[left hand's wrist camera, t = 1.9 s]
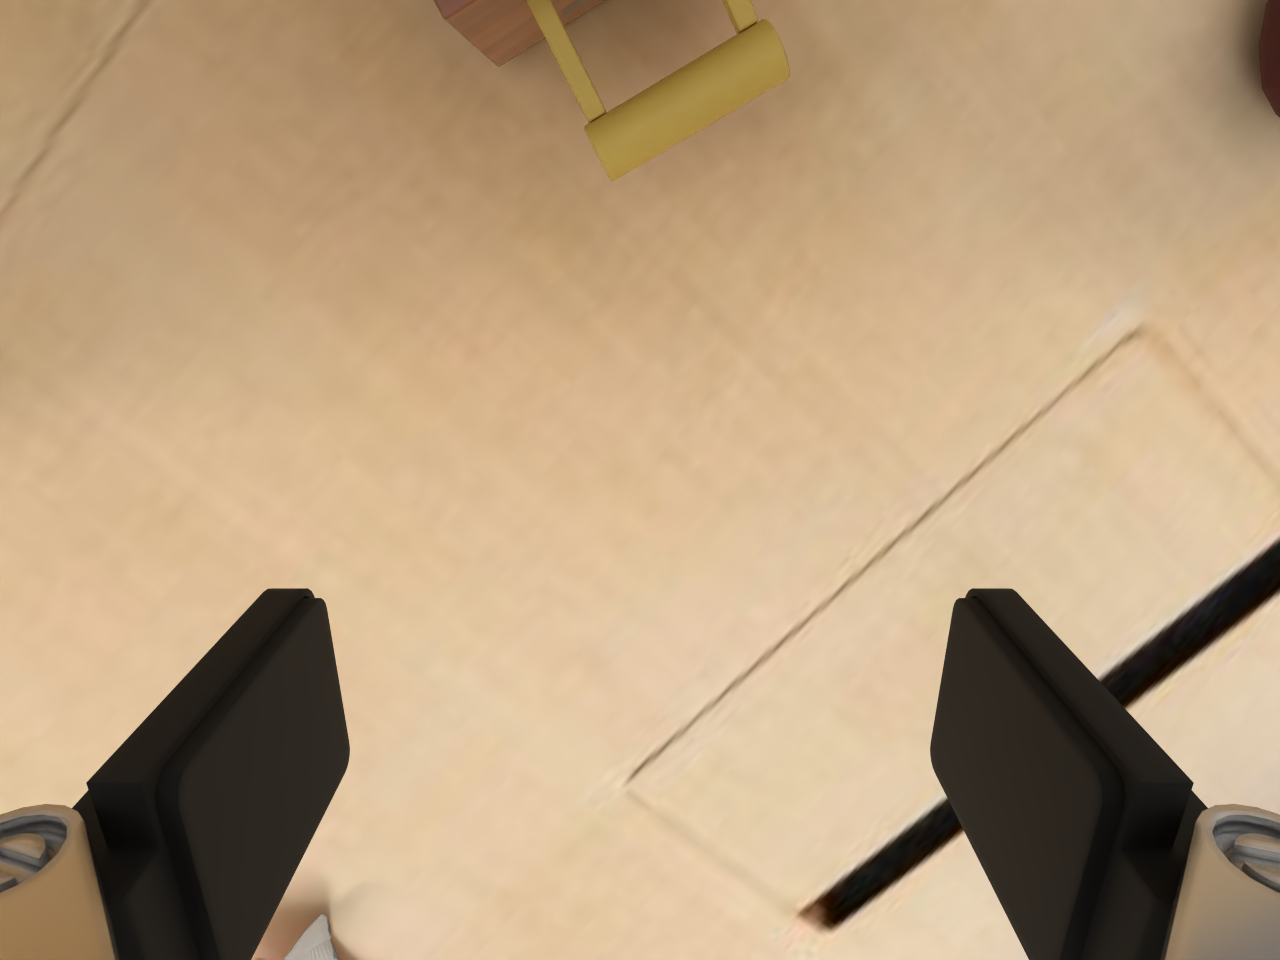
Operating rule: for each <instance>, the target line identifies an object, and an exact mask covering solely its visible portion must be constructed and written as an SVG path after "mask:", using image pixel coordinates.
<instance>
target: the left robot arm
mask: <svg viewBox="0 0 1280 960" xmlns="http://www.w3.org/2000/svg"><path fill="white" fill-rule="evenodd" d="M349 754H350V746H349V739H348V733H347V727H346V721H345V715H344V709H343V703H342V697H341V691H340V685H339V679H338V673H337V667H336V661H335V655H334V649H333V643H332V637H331V631H330V625H329V618H328V612H327V607H326V604H325V602H324V600H323V599H321V598H315V597H314V595H313V593H312V591H311V590H309V589H267V590H266V591H264V592H263V593H262V594H261V595H260V596H259V597H258V599H257V600H256V601H255V602H254V603H253V604H252V605H251V606H250V607H249V608H248V609H247V610H246V611H245V613H244V614H243V615H242V616H241V617H240V618H239V619H238V620H237V621H236V622H235V623H234V624H233V625H232V627H231V628H230V629H229V630H228V631H227V632H226V633H225V634H224V635H223V636H222V637H221V638H220V639H219V641H218V642H217V643H216V644H215V645H214V646H213V647H212V648H211V649H210V650H209V651H208V652H207V654H206V655H205V656H204V657H203V658H202V659H201V660H200V661H199V662H198V663H197V664H196V665H195V666H194V668H193V669H192V670H191V671H190V672H189V673H188V674H187V675H186V676H185V677H184V678H183V679H182V680H181V682H180V683H179V684H178V685H177V686H176V687H175V688H174V689H173V690H172V691H171V692H170V693H169V694H168V696H167V697H166V698H165V699H164V700H163V701H162V702H161V703H160V704H159V705H158V706H157V707H156V708H155V710H154V711H153V712H152V713H151V714H150V715H149V716H148V717H147V718H146V719H145V720H144V721H143V722H142V724H141V725H140V726H139V727H138V728H137V729H136V730H135V731H134V732H133V733H132V734H131V735H130V736H129V738H128V739H127V740H126V741H125V742H124V743H123V744H122V745H121V746H120V747H119V748H118V749H117V750H116V752H115V753H114V754H113V755H112V756H111V757H110V758H109V759H108V760H107V761H106V762H105V763H104V764H103V766H102V767H101V768H100V769H99V770H98V771H97V772H96V773H95V774H94V775H93V776H92V777H91V778H90V780H89V781H88V782H87V786H88V789H89V790H88V791H87V792H86V794H85V795H84V796H83V797H82V798H81V799H80V800H79V801H78V802H77V803H76V805H75V806H74V807H73V808H69V807H67V806H65V805H51V804H43V805H37V806H30V807H23V808H20V809H17V810H14V811H11V812H7V813H4V814H1V815H0V960H251V959H252V957H253V955H254V953H255V951H256V949H257V947H258V945H259V943H260V941H261V939H262V937H263V935H264V933H265V931H266V929H267V927H268V925H269V923H270V921H271V919H272V917H273V915H274V913H275V911H276V909H277V907H278V905H279V903H280V901H281V899H282V897H283V895H284V893H285V891H286V889H287V887H288V885H289V883H290V881H291V879H292V877H293V875H294V873H295V871H296V869H297V867H298V865H299V863H300V861H301V859H302V857H303V855H304V853H305V851H306V849H307V847H308V845H309V843H310V841H311V839H312V837H313V835H314V833H315V831H316V829H317V827H318V825H319V823H320V821H321V819H322V817H323V815H324V813H325V811H326V809H327V807H328V805H329V804H330V802H331V800H332V798H333V796H334V794H335V792H336V790H337V788H338V786H339V784H340V782H341V780H342V778H343V776H344V774H345V771H346V769H347V766H348V762H349ZM930 754H931V762H932V766H933V769H934V771H935V774H936V776H937V778H938V780H939V782H940V784H941V786H942V788H943V790H944V792H945V794H946V796H947V798H948V800H949V802H950V804H951V805H952V807H953V809H954V811H955V813H956V815H957V817H958V819H959V821H960V823H961V825H962V827H963V829H964V831H965V833H966V835H967V837H968V839H969V841H970V843H971V845H972V847H973V849H974V851H975V853H976V855H977V857H978V859H979V861H980V863H981V865H982V867H983V869H984V871H985V873H986V875H987V877H988V879H989V881H990V883H991V885H992V887H993V889H994V891H995V893H996V895H997V897H998V899H999V901H1000V903H1001V905H1002V907H1003V909H1004V911H1005V913H1006V915H1007V917H1008V919H1009V921H1010V923H1011V925H1012V927H1013V929H1014V931H1015V933H1016V935H1017V937H1018V939H1019V941H1020V943H1021V945H1022V947H1023V949H1024V951H1025V953H1026V955H1027V957H1028V959H1029V960H1280V815H1279V814H1276V813H1273V812H1269V811H1266V810H1263V809H1260V808H1257V807H1250V806H1243V805H1237V804H1229V805H1215V806H1213V807H1211V808H1207V807H1206V806H1205V805H1204V803H1203V802H1202V801H1201V800H1200V799H1199V798H1198V797H1197V796H1196V795H1195V794H1194V792H1193V791H1192V790H1191V789H1192V786H1193V782H1192V781H1191V780H1190V778H1189V777H1188V776H1187V775H1186V774H1185V773H1184V772H1183V771H1182V770H1181V769H1180V768H1179V767H1178V766H1177V764H1176V763H1175V762H1174V761H1173V760H1172V759H1171V758H1170V757H1169V756H1168V755H1167V754H1166V753H1165V752H1164V750H1163V749H1162V748H1161V747H1160V746H1159V745H1158V744H1157V743H1156V742H1155V741H1154V740H1153V739H1152V738H1151V736H1150V735H1149V734H1148V733H1147V732H1146V731H1145V730H1144V729H1143V728H1142V727H1141V726H1140V725H1139V724H1138V722H1137V721H1136V720H1135V719H1134V718H1133V717H1132V716H1131V715H1130V714H1129V713H1128V712H1127V711H1126V710H1125V708H1124V707H1123V706H1122V705H1121V704H1120V703H1119V702H1118V701H1117V700H1116V699H1115V698H1114V697H1113V696H1112V694H1111V693H1110V692H1109V691H1108V690H1107V689H1106V688H1105V687H1104V686H1103V685H1102V684H1101V683H1100V682H1099V680H1098V679H1097V678H1096V677H1095V676H1094V675H1093V674H1092V673H1091V672H1090V671H1089V670H1088V669H1087V668H1086V666H1085V665H1084V664H1083V663H1082V662H1081V661H1080V660H1079V659H1078V658H1077V657H1076V656H1075V655H1074V654H1073V652H1072V651H1071V650H1070V649H1069V648H1068V647H1067V646H1066V645H1065V644H1064V643H1063V642H1062V641H1061V639H1060V638H1059V637H1058V636H1057V635H1056V634H1055V633H1054V632H1053V631H1052V630H1051V629H1050V628H1049V627H1048V625H1047V624H1046V623H1045V622H1044V621H1043V620H1042V619H1041V618H1040V617H1039V616H1038V615H1037V614H1036V613H1035V611H1034V610H1033V609H1032V608H1031V607H1030V606H1029V605H1028V604H1027V603H1026V602H1025V601H1024V600H1023V599H1022V597H1021V596H1020V595H1019V594H1018V593H1017V592H1016V591H1014V590H1013V589H971V590H969V591H968V593H967V595H966V597H965V598H959V599H957V600H956V602H955V604H954V607H953V612H952V618H951V625H950V631H949V637H948V643H947V649H946V655H945V661H944V667H943V673H942V679H941V685H940V691H939V697H938V703H937V709H936V715H935V721H934V727H933V733H932V739H931V747H930Z"/></svg>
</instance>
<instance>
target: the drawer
mask: <svg viewBox="0 0 1280 960" xmlns="http://www.w3.org/2000/svg"><path fill="white" fill-rule="evenodd" d="M603 1H604V0H434V2H435V4H436V6H437V7H438V9H439V11H440V13H441V15H442V16H443V18H444V19H445V20H446V21H447V22H448V23H449V24H451V25H452V26H453V27H454V28H455V29H456V30H457V31H458V32H460V33H461V34H462V35H463V36H464V37H465V38H466V39H467V40H469V41H470V42H471V43H472V44H473V45H474V46H475V47H476V48H477V49H479V50H480V51H481V52H482V53H483V54H484V55H485V56H486V57H488V58H489V59H490V60H491V61H492V62H493V63H494V64H495V65H497V66H501V65H502V64H504V63H506V62H507V61H509V60H510V59H512V58H514V57H515V56H517V55H518V54H520V53H522V52H523V51H525V50H526V49H528V48H530V47H531V46H533V45H534V44H536V43H537V42H539V41H541V40H542V39H544V38H546V40H547V42H548V44H549V46H550V48H551V50H552V52H553V54H554V56H555V58H556V60H557V62H558V64H559V66H560V68H561V69H562V71H563V73H564V75H565V77H566V79H567V81H568V83H569V85H570V87H571V89H572V91H573V93H574V95H575V97H576V99H577V101H578V103H579V105H580V107H581V109H582V110H583V112H584V114H585V116H586V118H587V120H588V122H589V124H587V125H586V126H585V127H584V129H585V132H586V134H587V136H588V138H589V140H590V142H591V144H592V146H593V148H594V150H595V152H596V154H597V156H598V157H599V159H600V161H601V163H602V165H603V167H604V169H605V171H606V173H607V174H608V176H609V178H610V180H612V181H614V180H616V179H617V178H619V177H621V176H622V175H624V174H626V173H628V172H629V171H631V170H633V169H634V168H636V167H638V166H640V165H641V164H643V163H645V162H646V161H648V160H650V159H652V158H653V157H655V156H657V155H659V154H660V153H662V152H664V151H665V150H667V149H669V148H671V147H672V146H674V145H676V144H677V143H679V142H681V141H683V140H684V139H686V138H688V137H689V136H691V135H693V134H695V133H696V132H698V131H700V130H701V129H703V128H705V127H707V126H708V125H710V124H712V123H713V122H715V121H717V120H719V119H720V118H722V117H724V116H725V115H727V114H729V113H731V112H732V111H734V110H736V109H737V108H739V107H741V106H743V105H744V104H746V103H748V102H749V101H751V100H753V99H755V98H756V97H758V96H760V95H762V94H763V93H765V92H767V91H768V90H770V89H772V88H774V87H775V86H777V85H779V84H780V83H782V82H784V81H786V80H787V79H788V78H789V65H788V61H787V57H786V54H785V51H784V48H783V46H782V43H781V41H780V39H779V37H778V35H777V33H776V31H775V29H774V28H773V26H772V25H771V23H770V22H769V21H768V20H766V19H762V20H761V21H759V22H757V21H758V17H757V15H756V12H755V10H754V8H753V5H752V3H751V1H750V0H723V2H724V5H725V7H726V9H727V12H728V14H729V16H730V19H731V21H732V23H733V25H734V28H735V30H736V32H737V33H738V34H737V35H736V36H734V37H732V38H731V39H729V40H727V41H726V42H724V43H722V44H721V45H719V46H717V47H716V48H714V49H712V50H711V51H709V52H707V53H706V54H704V55H702V56H701V57H699V58H697V59H696V60H694V61H692V62H691V63H689V64H687V65H686V66H684V67H682V68H681V69H679V70H677V71H676V72H674V73H672V74H671V75H669V76H667V77H666V78H664V79H662V80H661V81H659V82H657V83H656V84H654V85H652V86H651V87H649V88H647V89H646V90H644V91H642V92H641V93H639V94H637V95H636V96H634V97H632V98H631V99H629V100H627V101H626V102H624V103H622V104H621V105H619V106H617V107H616V108H614V109H612V110H611V111H609V112H607V113H606V110H605V108H604V106H603V104H602V102H601V100H600V98H599V96H598V94H597V92H596V90H595V88H594V86H593V84H592V82H591V80H590V78H589V76H588V74H587V72H586V70H585V68H584V66H583V64H582V62H581V60H580V58H579V56H578V54H577V52H576V50H575V48H574V46H573V44H572V42H571V40H570V38H569V36H568V34H567V32H566V30H565V28H564V26H565V25H566V24H568V23H569V22H571V21H573V20H574V19H576V18H577V17H579V16H581V15H582V14H584V13H585V12H587V11H589V10H590V9H592V8H593V7H595V6H596V5H598V4H600V3H601V2H603ZM756 22H757V23H756Z"/></svg>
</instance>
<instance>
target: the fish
mask: <svg viewBox="0 0 1280 960" xmlns="http://www.w3.org/2000/svg"><path fill="white" fill-rule="evenodd" d="M283 960H339V958H338V956H337V953H336V950H335V948H334V945H333V942H332V940H331V934H330V926H329V922H328V919H327V916H326V915H325V914H321V915H320V916H319V917H318V918H317V919H316V920H315V921H314V922H313V923H312V924H311V925H310V926H309V927H308V928H307V929H306V930H305V932H304V933H303V934H302V936H301V937H300V938H299V939H298V941H297V942H296V943H295V945H294V946H293V947H292V949H291V950H290V951H289V953H288V954H287V956H286V957H285V958H284V959H283Z"/></svg>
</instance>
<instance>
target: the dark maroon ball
mask: <svg viewBox="0 0 1280 960" xmlns="http://www.w3.org/2000/svg"><path fill="white" fill-rule="evenodd" d="M1259 57H1260V68H1261V79H1262V89H1263V91H1264V93H1265V95H1266V97H1267V98H1268V100H1269V102H1270V104H1271V106H1272V108H1273V110H1274V111H1275V113H1276V114H1277V115H1278V116H1279V117H1280V0H1268V2H1267V5H1266V10H1265V16H1264V21H1263V27H1262V32H1261V37H1260V43H1259Z"/></svg>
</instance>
